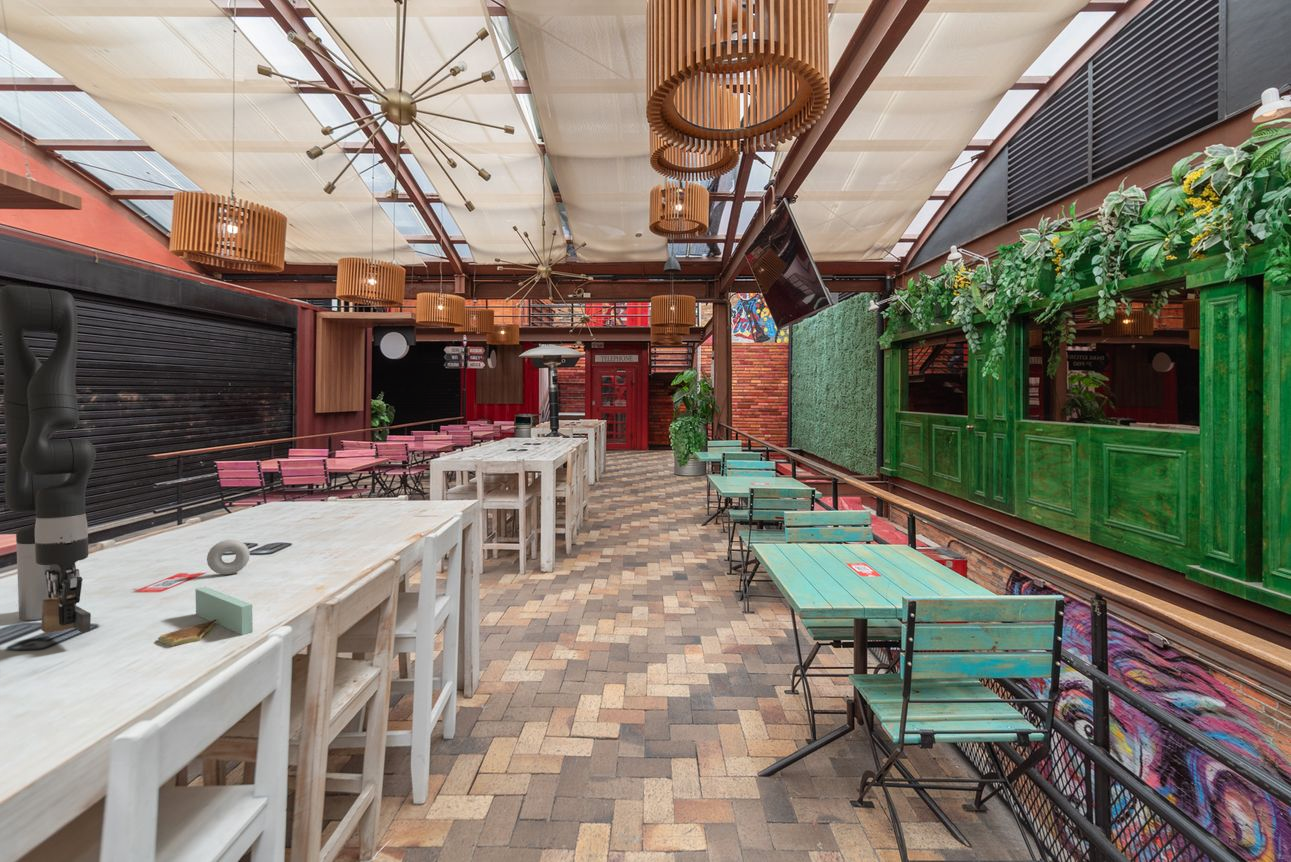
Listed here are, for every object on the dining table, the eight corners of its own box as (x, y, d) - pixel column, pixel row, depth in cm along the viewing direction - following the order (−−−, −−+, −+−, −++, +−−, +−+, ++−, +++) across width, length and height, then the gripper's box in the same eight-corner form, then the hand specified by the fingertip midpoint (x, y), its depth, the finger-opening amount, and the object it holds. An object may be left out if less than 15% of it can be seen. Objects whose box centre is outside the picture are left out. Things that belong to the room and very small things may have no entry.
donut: (250, 570, 169) (249, 536, 169) (250, 573, 166) (249, 538, 166) (207, 575, 163) (206, 540, 163) (206, 578, 160) (206, 543, 160)
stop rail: (196, 614, 133) (195, 588, 133) (206, 611, 135) (205, 586, 135) (242, 635, 122) (241, 607, 121) (252, 631, 123) (252, 604, 123)
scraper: (34, 625, 118) (35, 595, 118) (69, 618, 122) (70, 590, 122) (53, 638, 111) (54, 607, 111) (90, 631, 115) (91, 601, 115)
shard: (216, 625, 128) (216, 617, 128) (235, 632, 124) (235, 624, 124) (156, 643, 118) (156, 634, 118) (175, 650, 115) (175, 642, 115)
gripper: (25, 537, 117) (28, 621, 117) (46, 545, 109) (49, 635, 110) (75, 530, 123) (78, 610, 124) (99, 538, 116) (101, 623, 116)
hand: (64, 621), depth 117 cm, fingers closed on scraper, 3 cm apart
